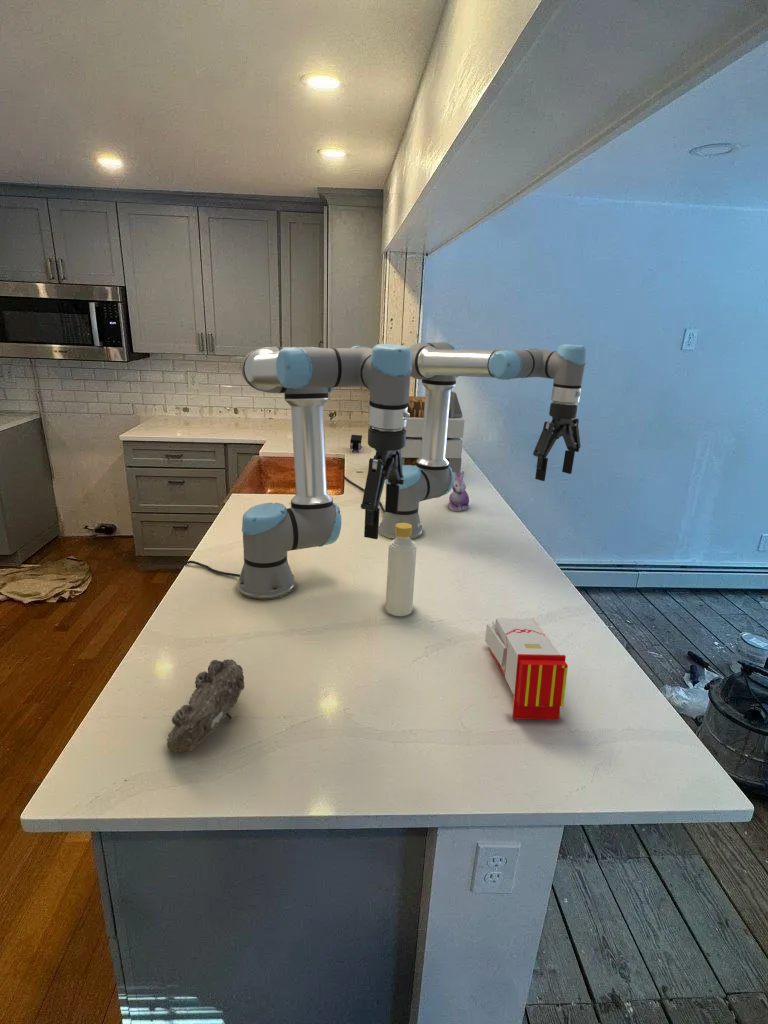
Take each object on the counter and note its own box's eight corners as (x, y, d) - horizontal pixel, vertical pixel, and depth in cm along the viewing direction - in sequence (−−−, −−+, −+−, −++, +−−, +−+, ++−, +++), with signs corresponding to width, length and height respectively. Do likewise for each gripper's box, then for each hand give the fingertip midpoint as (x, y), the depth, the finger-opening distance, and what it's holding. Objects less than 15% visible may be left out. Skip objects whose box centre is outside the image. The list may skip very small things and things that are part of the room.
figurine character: (361, 456, 307) (362, 446, 320) (362, 442, 303) (362, 433, 317) (349, 455, 306) (350, 446, 320) (349, 442, 303) (350, 433, 316)
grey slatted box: (382, 463, 289) (386, 382, 275) (445, 464, 293) (451, 384, 279) (390, 482, 257) (394, 392, 243) (460, 483, 261) (468, 394, 247)
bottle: (397, 600, 155) (401, 520, 147) (417, 609, 150) (423, 527, 142) (380, 609, 149) (383, 526, 141) (400, 619, 145) (405, 534, 137)
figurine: (455, 513, 222) (459, 476, 217) (441, 505, 231) (444, 469, 226) (475, 510, 226) (479, 474, 221) (460, 502, 235) (464, 467, 230)
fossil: (192, 660, 117) (244, 628, 112) (224, 691, 120) (276, 661, 115) (142, 746, 98) (202, 712, 93) (182, 779, 101) (242, 748, 96)
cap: (402, 529, 145) (402, 521, 145) (414, 534, 143) (415, 525, 142) (391, 534, 142) (392, 525, 142) (404, 538, 140) (405, 530, 139)
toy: (531, 603, 136) (576, 661, 106) (526, 655, 139) (569, 725, 109) (481, 602, 135) (512, 660, 106) (477, 654, 138) (507, 724, 109)
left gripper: (386, 446, 99) (379, 553, 108) (421, 415, 121) (414, 505, 130) (346, 440, 101) (343, 545, 110) (388, 410, 123) (383, 500, 132)
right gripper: (550, 408, 147) (539, 486, 154) (600, 401, 162) (588, 472, 170) (526, 403, 152) (516, 479, 159) (577, 397, 168) (566, 467, 175)
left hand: (381, 524), depth 120 cm, fingers open, 13 cm apart
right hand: (553, 476), depth 165 cm, fingers open, 13 cm apart
